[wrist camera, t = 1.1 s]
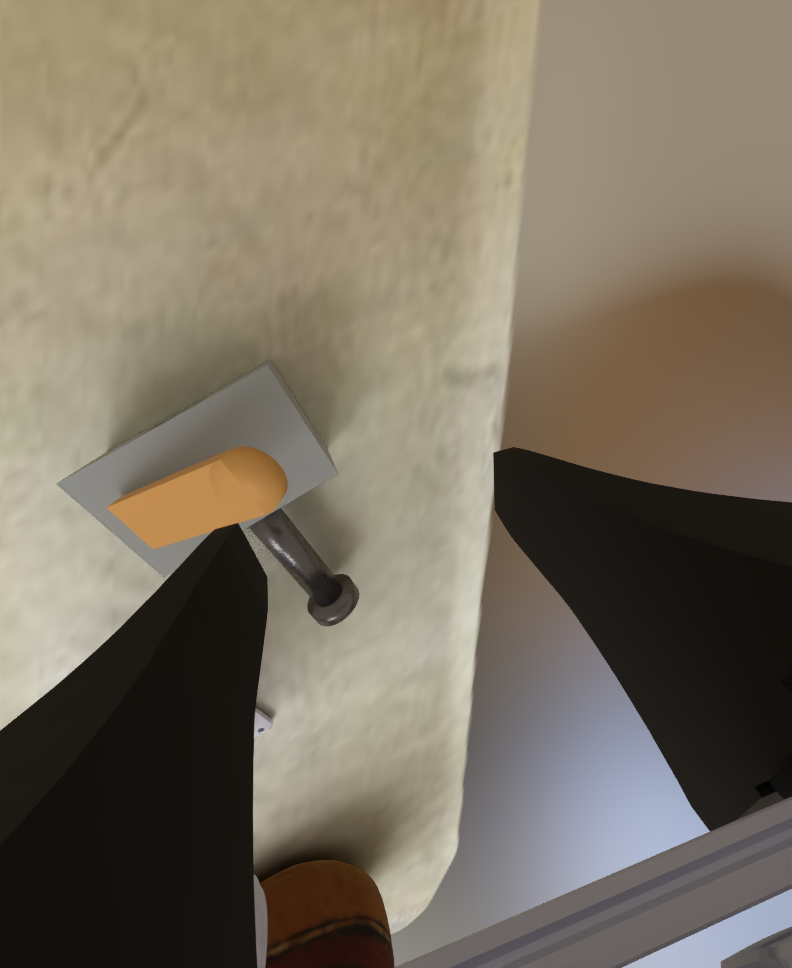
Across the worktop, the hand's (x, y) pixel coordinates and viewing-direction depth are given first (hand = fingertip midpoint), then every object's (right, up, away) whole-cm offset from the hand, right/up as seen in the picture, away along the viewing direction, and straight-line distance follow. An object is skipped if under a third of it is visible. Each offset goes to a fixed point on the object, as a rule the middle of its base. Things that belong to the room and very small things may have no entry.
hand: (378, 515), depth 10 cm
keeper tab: (-7, 0, +5) cm, 9 cm away
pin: (-6, -2, +13) cm, 14 cm away
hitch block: (-9, +3, +10) cm, 14 cm away
